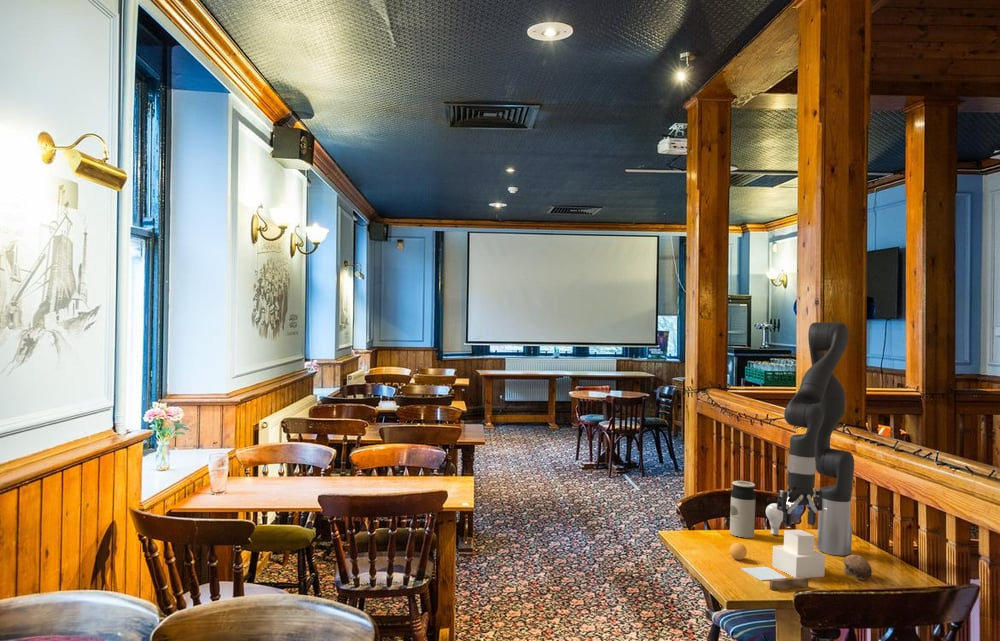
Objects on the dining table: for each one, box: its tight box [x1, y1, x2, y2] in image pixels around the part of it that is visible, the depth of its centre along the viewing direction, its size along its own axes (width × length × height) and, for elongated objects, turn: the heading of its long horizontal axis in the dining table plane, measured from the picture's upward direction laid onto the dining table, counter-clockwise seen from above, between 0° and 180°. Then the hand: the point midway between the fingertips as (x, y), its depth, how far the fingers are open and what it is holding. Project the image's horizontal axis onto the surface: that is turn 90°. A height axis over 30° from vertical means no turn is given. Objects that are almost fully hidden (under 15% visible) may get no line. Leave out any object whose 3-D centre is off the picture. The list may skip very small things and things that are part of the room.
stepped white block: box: [771, 529, 826, 578], centre depth 195 cm, size 10×10×11 cm
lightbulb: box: [765, 503, 783, 536], centre depth 230 cm, size 6×6×11 cm
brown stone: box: [843, 554, 873, 581], centre depth 193 cm, size 8×8×6 cm
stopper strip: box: [769, 577, 810, 591], centre depth 182 cm, size 12×1×2 cm, turn 106°
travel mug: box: [729, 480, 756, 539], centre depth 228 cm, size 8×8×18 cm
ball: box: [729, 542, 748, 561], centre depth 203 cm, size 5×5×5 cm
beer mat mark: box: [740, 566, 788, 582], centre depth 192 cm, size 9×9×1 cm
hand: (799, 525), depth 195 cm, fingers open, 8 cm apart
